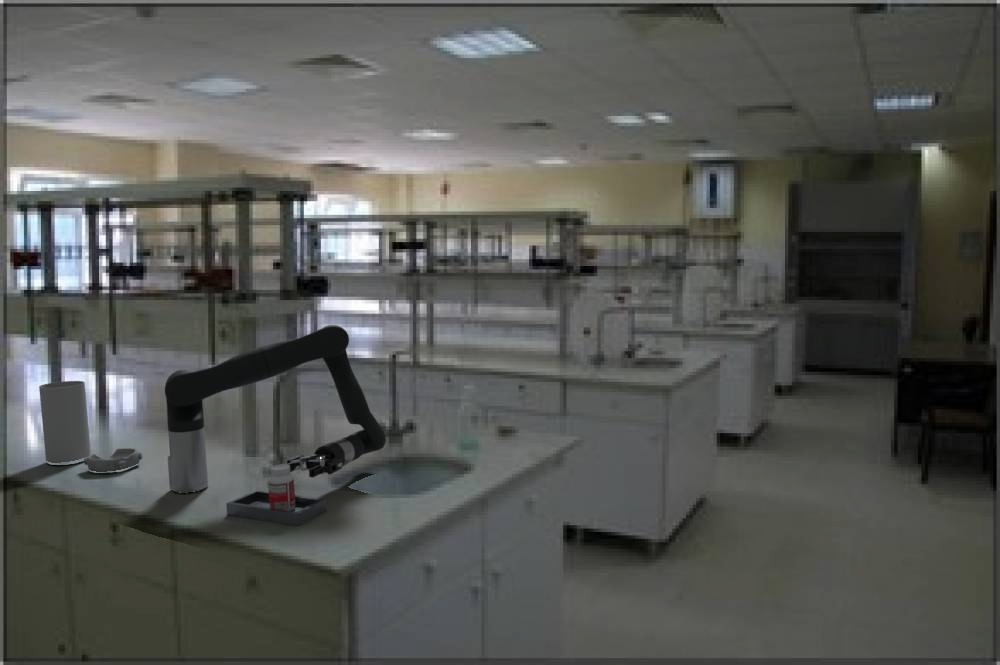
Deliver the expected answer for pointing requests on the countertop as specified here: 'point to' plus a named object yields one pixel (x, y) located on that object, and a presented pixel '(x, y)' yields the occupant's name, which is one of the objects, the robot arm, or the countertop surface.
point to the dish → (114, 460)
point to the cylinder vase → (65, 421)
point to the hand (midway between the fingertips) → (296, 472)
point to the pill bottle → (281, 488)
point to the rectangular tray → (259, 509)
